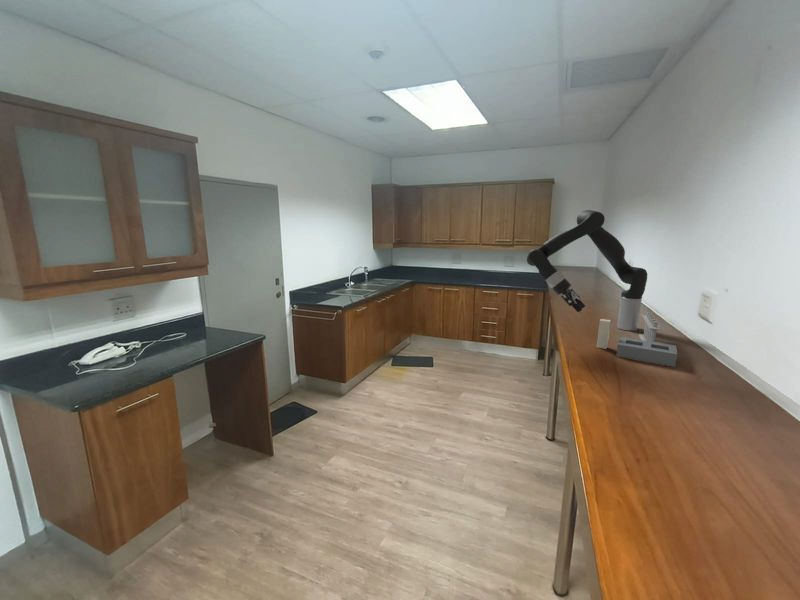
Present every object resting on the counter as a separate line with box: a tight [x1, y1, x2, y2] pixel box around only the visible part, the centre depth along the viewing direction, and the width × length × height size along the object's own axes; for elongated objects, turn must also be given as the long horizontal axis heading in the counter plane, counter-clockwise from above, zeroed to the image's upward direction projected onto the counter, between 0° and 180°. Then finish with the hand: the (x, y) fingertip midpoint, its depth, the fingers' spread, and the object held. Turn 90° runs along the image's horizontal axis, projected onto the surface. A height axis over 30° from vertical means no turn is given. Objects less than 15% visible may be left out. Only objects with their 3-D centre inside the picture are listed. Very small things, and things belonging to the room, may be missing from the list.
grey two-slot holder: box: [615, 336, 678, 368], centre depth 147 cm, size 12×20×6 cm, turn 53°
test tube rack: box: [638, 311, 663, 342], centre depth 163 cm, size 25×4×13 cm, turn 152°
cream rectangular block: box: [596, 318, 611, 350], centre depth 159 cm, size 3×4×13 cm
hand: (581, 309), depth 162 cm, fingers open, 8 cm apart
